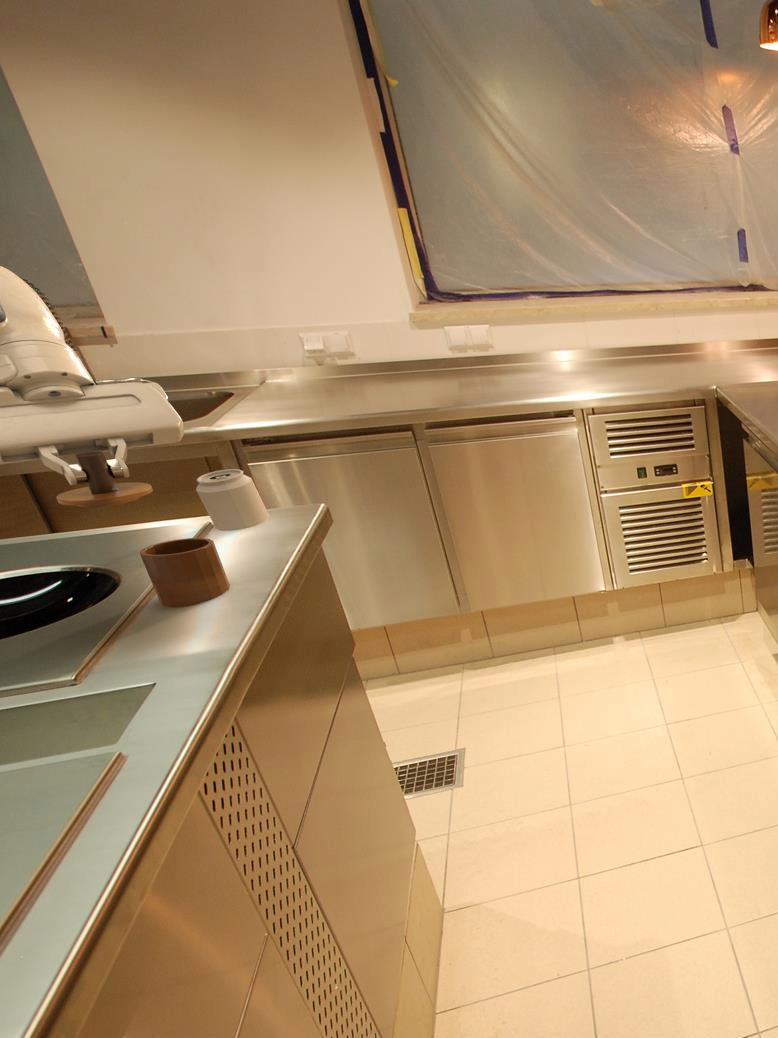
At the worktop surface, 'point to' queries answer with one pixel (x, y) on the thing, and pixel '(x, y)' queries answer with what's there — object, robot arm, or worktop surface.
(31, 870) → the worktop surface
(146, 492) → the basket lid
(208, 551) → the wooden cylinder
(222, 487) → the can
